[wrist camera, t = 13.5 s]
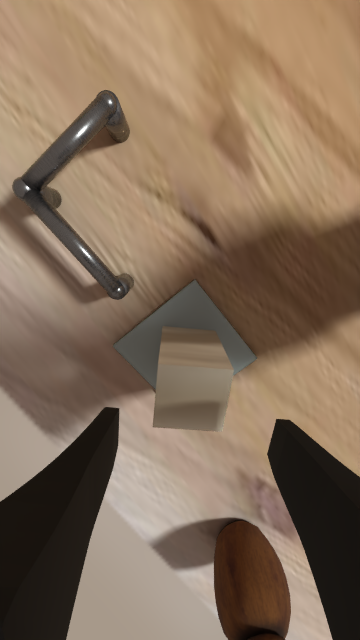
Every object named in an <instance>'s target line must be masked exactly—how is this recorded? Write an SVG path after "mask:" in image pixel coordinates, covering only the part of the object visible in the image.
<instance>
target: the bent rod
mask: <svg viewBox="0 0 360 640" xmlns="http://www.w3.org/2000/svg"><path fill="white" fill-rule="evenodd" d="M104 126H106V128H107V130H108V131H109V133H110V135H111V137H112V138H113V139H114V140H115V141H117V142H124V141H126V140H127V139H128V137H129V133H130V130H129V126H128V124H127V121H126V118H125V116H124V113H123V111H122V108H121V106H120V103H119V101H118V98H117V97H116V95H115V94H114V93H113V92H111V91H108V90H104V91H101V92H100V93H99V94H98V95H97V97H96V98H95V99H94V100H93V101H92V103H91V104H90V105H89V106H88V107H87V108H86V109H85V110H84V111H83V112H82V113H81V114H80V115H79V116H78V117H77V118H76V119H75V120H74V122H73V123H72V124H71V125H70V126H69V127H68V128H67V129H66V130H65V131H64V132H63V133H62V134H61V135H60V136H59V137H58V138H57V140H56V141H55V142H54V143H53V144H52V145H51V146H50V147H49V148H48V149H47V150H46V151H45V152H44V153H43V154H42V155H41V156H40V158H39V159H38V160H37V161H36V162H35V163H34V164H33V165H32V166H31V167H30V168H29V169H28V170H27V171H26V172H25V173H24V174H23V176H22V177H19V178H17V179H15V180H14V182H13V185H12V188H13V192H14V194H15V195H16V196H17V197H18V198H19V199H20V200H22V201H24V202H25V203H26V204H27V206H28V207H29V208H30V209H31V210H32V211H33V212H34V213H35V214H36V215H37V216H38V217H39V219H40V220H41V221H42V222H43V223H44V224H45V225H46V226H47V227H48V228H49V229H50V230H51V232H52V233H53V234H54V235H55V236H56V237H57V238H58V239H59V240H60V241H61V242H62V244H63V245H64V246H65V247H66V248H67V249H68V250H69V251H70V252H71V253H72V254H73V255H74V257H75V258H76V259H77V260H78V261H79V262H80V263H81V264H82V265H83V266H84V267H85V268H86V270H87V271H88V272H89V273H90V274H91V275H92V276H93V277H94V278H95V279H96V280H97V282H98V283H99V284H100V285H101V286H102V287H103V288H104V289H105V290H106V291H107V293H108V295H109V296H110V297H111V298H113V299H116V300H119V299H122V298H123V297H124V296H125V295H126V294H127V293H128V292H129V291H130V289H131V288H132V287H133V285H134V280H133V278H132V277H131V276H130V275H129V274H122V275H120V276H118V277H116V276H115V275H114V274H113V273H112V272H111V271H110V270H109V268H108V267H107V266H106V265H105V264H104V263H103V262H102V261H101V259H100V258H99V257H98V256H97V255H96V254H95V253H94V252H93V251H92V249H91V248H90V247H89V246H88V245H87V244H86V243H85V242H84V240H83V239H82V238H81V237H80V236H79V235H78V234H77V233H76V231H75V230H74V229H73V228H72V227H71V226H70V225H69V224H68V222H67V221H66V220H65V219H64V218H63V217H62V216H61V215H60V213H59V212H58V211H57V210H56V208H58V207H59V206H60V204H61V196H60V194H59V193H58V192H57V191H56V190H54V189H52V188H50V187H48V186H47V185H48V183H49V182H50V181H51V180H52V179H53V178H54V177H55V176H56V175H57V174H58V173H59V172H60V171H61V170H62V169H63V168H64V167H65V166H66V165H67V164H68V163H69V162H70V161H71V160H72V159H73V158H74V157H75V156H76V155H77V154H78V153H79V152H80V151H81V150H82V149H83V148H84V147H85V146H86V145H87V144H88V143H89V142H90V141H91V140H92V139H93V138H94V136H95V135H96V134H97V133H98V132H99V131H100V130H101V129H102V128H103V127H104Z"/></svg>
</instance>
